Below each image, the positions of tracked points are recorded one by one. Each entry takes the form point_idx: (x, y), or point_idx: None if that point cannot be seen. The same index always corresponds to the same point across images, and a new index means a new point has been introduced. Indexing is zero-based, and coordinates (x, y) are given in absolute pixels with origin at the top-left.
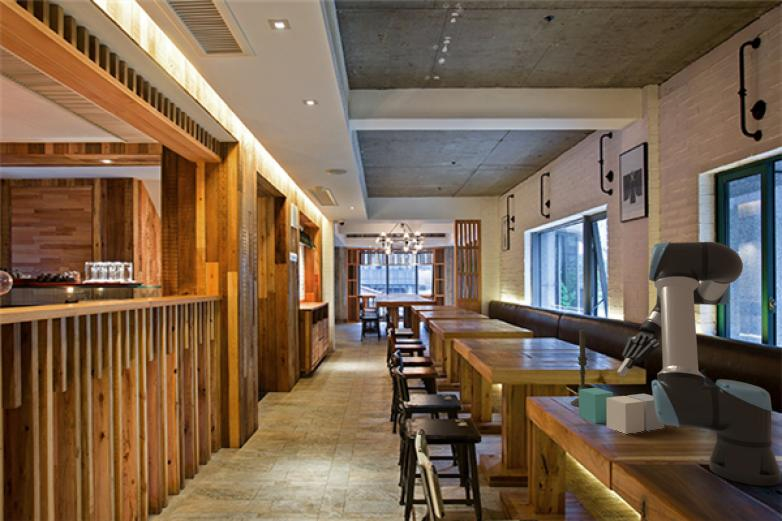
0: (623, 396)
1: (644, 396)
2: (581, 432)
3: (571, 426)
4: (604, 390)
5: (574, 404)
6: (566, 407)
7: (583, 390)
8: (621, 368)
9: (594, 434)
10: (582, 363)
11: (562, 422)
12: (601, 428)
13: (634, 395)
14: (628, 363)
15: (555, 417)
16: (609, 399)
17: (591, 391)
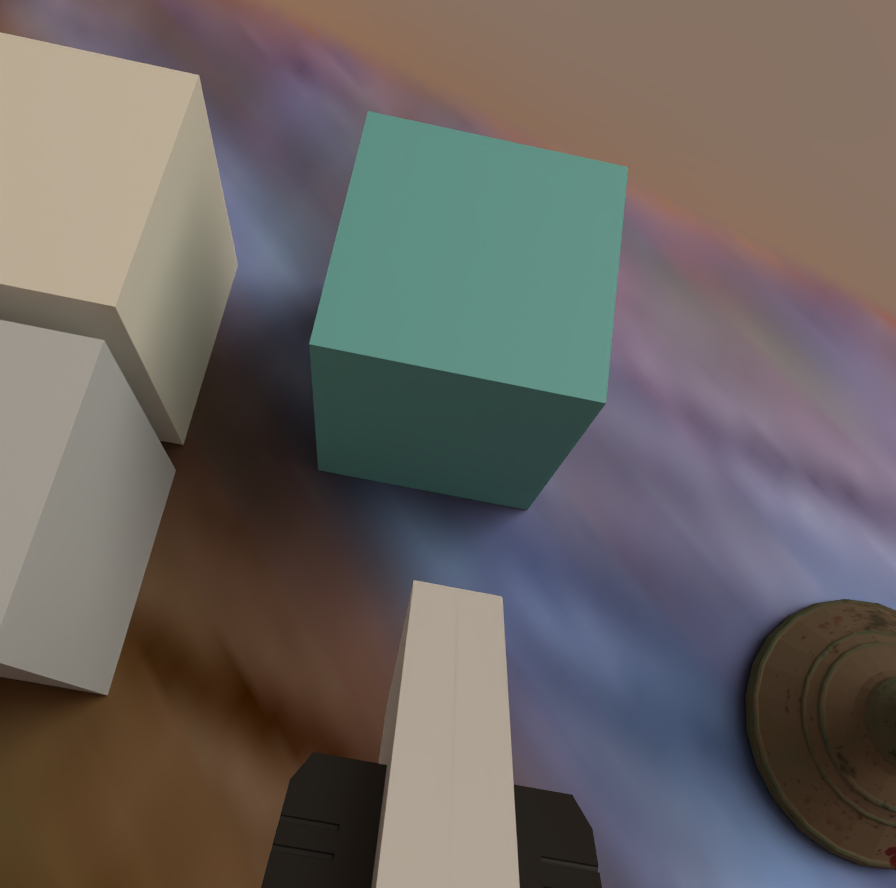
0: (107, 269)
1: None
2: (280, 50)
3: (410, 103)
4: (445, 356)
5: (861, 602)
6: (837, 496)
7: (571, 170)
8: (441, 646)
9: None
10: None
11: (512, 130)
12: (250, 219)
13: (34, 427)
14: (363, 853)
15: (632, 188)
16: (155, 71)
17: (492, 197)
